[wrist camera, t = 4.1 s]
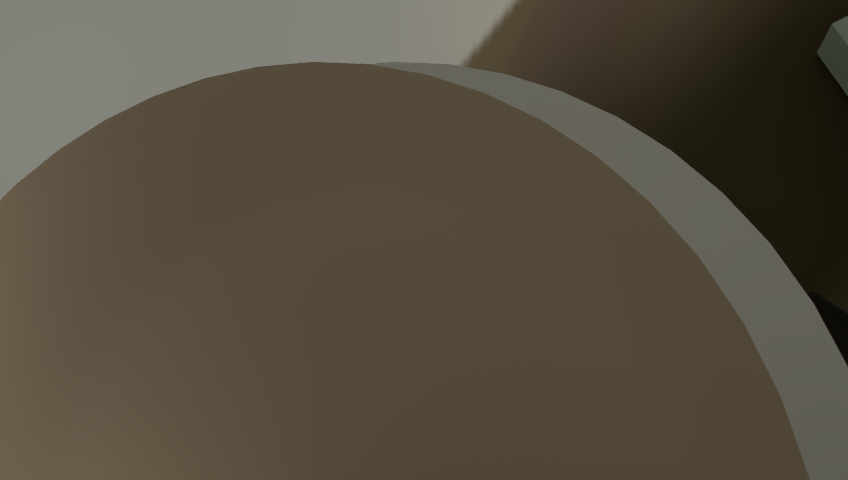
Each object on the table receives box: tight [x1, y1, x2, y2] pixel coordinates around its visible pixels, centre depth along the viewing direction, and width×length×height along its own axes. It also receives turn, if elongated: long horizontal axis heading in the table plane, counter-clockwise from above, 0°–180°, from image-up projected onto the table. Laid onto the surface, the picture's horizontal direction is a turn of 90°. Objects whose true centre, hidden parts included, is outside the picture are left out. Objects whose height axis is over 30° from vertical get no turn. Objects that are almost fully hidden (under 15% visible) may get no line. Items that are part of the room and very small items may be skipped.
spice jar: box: [0, 62, 848, 480], centre depth 9 cm, size 5×5×13 cm
